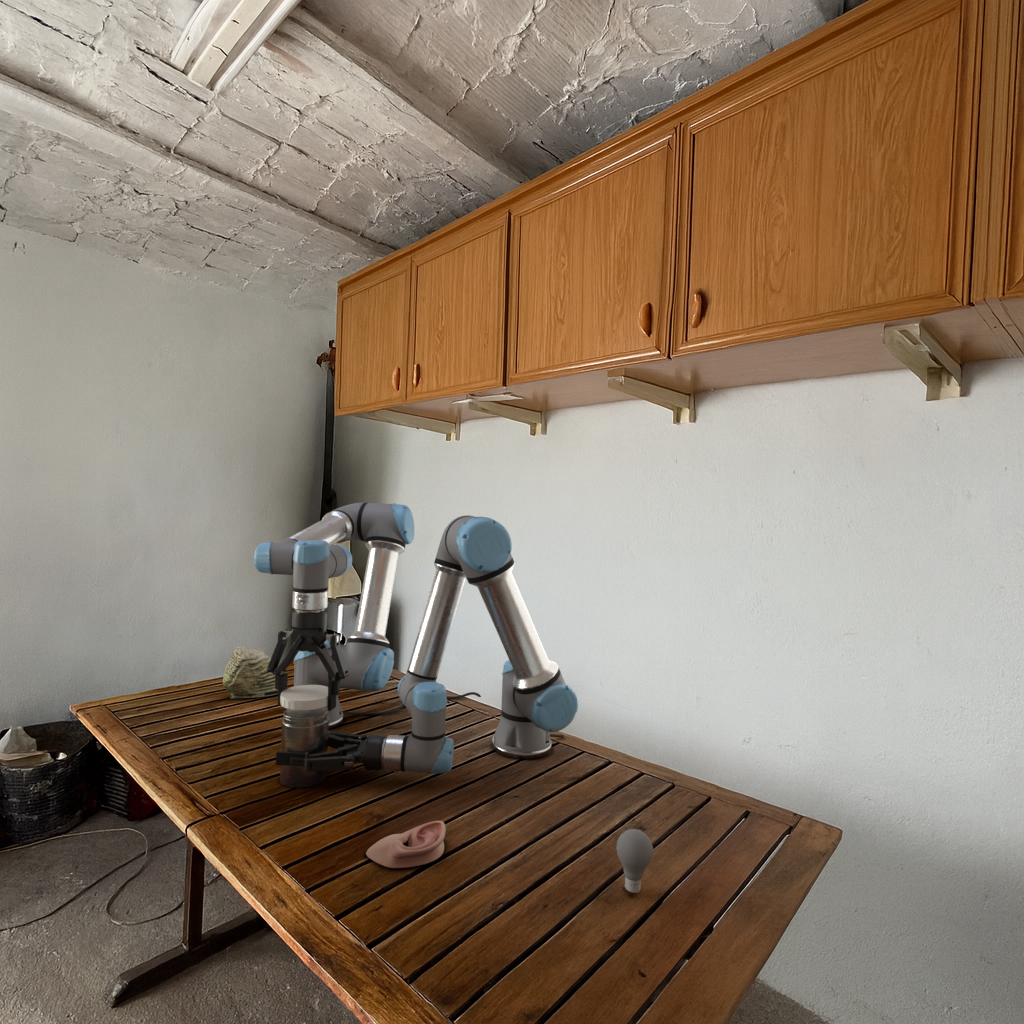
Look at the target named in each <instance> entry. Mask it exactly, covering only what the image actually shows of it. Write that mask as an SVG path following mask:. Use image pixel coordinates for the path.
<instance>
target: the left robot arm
mask: <svg viewBox="0 0 1024 1024" xmlns="http://www.w3.org/2000/svg"><path fill="white" fill-rule="evenodd" d="M414 537H415V520H414V515H413V512H412V510H411V508H410V507H409V506H408V505H406V504H400V503H399V504H398V503H384V502H383V503H381V502H379V503H378V502H362V501H361V502H354V503H350V504H349V503H348V504H346V505H343V506H340V507H337V508H336V509H332V510H331V511H329V512H327V513H325V515H323V517H322V518H321V520H319V521H317V522H316V523H314V524H312V525H310V526H308V527H306V528H304V529H302V530H300V531H298V532H297V533H295V534H292V535H291V536H289V537H287V538H285V539H282V540H281V541H279V542H273V541H270V542H261V543H260V544H259V545H257V547H256V549H255V551H254V553H253V564H254V568H255V569H256V570H257V571H258V572H259V573H262V574H270V575H284V576H292V577H293V578H292V603H291V605H292V606H291V607H292V609H293V611H291V627H292V628H291V630H288V628H285V629H282V630H280V631H278V633H277V642H276V644H275V647H274V650H273V652H272V655H271V657H270V658H271V660H270V662H269V665H268V668H267V672H271V673H273V674H274V675H275V689H277V690H278V694H277V706H281V703H280V696H281V693H282V691H284V690H286V689H288V681H289V679H288V678H289V677H288V676H289V674H288V673H286V672H287V671H286V670H287V669H288V668H289V666H290V665H291V663H292V662H293V661H294V672H293V687H295V686H301V685H322V686H327V687H328V706H325V708H327V710H328V715H327V716H328V717H329V729H328V731H330V730H332V729H335V728H337V727H339V726H340V725H342V723H343V722H344V715H351V716H384V715H390V714H393V713H397V712H398V711H400V710H402V709H404V708H406V706H405V705H404V704H403V703H402V705H400V706H398V707H396V708H395V709H392V710H391V709H390V710H386V711H375V712H373V711H371V712H370V711H343V709H342V706H341V702H340V699H339V694H340V692H341V689H342V690H343V689H345V690H352V691H353V690H354V691H355V690H356V691H362V692H379V691H381V690H382V689H384V687H385V686H386V685H387V684H388V682H389V680H390V678H391V675H392V673H393V670H394V664H395V652H394V650H393V649H391V648H390V641H389V639H387V637H386V633H387V628H388V620H389V614H390V609H391V602H392V597H393V591H394V586H395V585H394V584H395V580H396V579H395V578H396V573H397V567H398V561H399V556H400V555H402V553H405V550H406V545H410V544H412V543H413V540H414V539H415V538H414ZM347 541H354V542H355V541H357V542H365V543H364V546H365V548H366V549H367V550H368V555H367V559H366V566H365V572H364V577H363V582H362V586H361V587H362V589H361V593H360V598H359V604H358V610H357V615H356V621H355V625H354V626H355V627H354V632H352V633H351V634H350V635H349V636H348V637H347V639H346V644H341V635H340V633H338V632H337V633H335V634H332V633H328V631H327V626H328V610H327V608H328V607H329V606H328V597H329V595H328V594H329V593H328V591H329V579H332V578H338V577H341V576H343V575H344V574H346V573H347V572H349V571H350V569H351V567H352V565H353V555H352V553H351V551H350V550H349V549H348V548H347V547H346V546H344V545H341V544H342V543H345V542H347ZM290 639H291V640H292V642H293V644H292V645H291V647H290V648H289V650H288V652H287V653H286V655H285V656H284V658H283V659H282V657H283V655H284V652H285V649H286V647H287V644H288V641H289V640H290ZM281 659H282V660H281ZM472 695H473V696H476V697H478V698H481V697H482V695H481V694H480V693H478V692H475V691H470V692H466V693H464V694H460V695H454V696H447V700H457V699H458V700H459V699H463V698H465V697H468V696H472ZM281 707H282V706H281Z"/></svg>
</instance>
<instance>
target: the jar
mask: <svg viewBox="0 0 1024 1024" xmlns="http://www.w3.org/2000/svg"><path fill="white" fill-rule="evenodd" d="M327 715H328V710H327V708H325V707H322V708H319V709H313V710H291V709H287V708H286V709H285V710H284V711H283V713H282V717H283V719H282V720H281V733H280V734H281V735H280V737H281V738H280V740H281V741H280V751H286V752H307V751H308V752H309V754H316V753H322V752H328V751H329V750H328V749H329V747H328V733H329V730H330V729H329V717H328V716H327ZM328 729H329V730H328ZM327 777H328V770H327V771H313V772H306V771H305V766H288V765H279V782H280V784H281V785H282V786H285V787H288V788H292V789H294V788H295V789H305V788H309V787H314V786H317V785H320V784H321V783H323V782H324V781H325V780H326V779H327Z"/></svg>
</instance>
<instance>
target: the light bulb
mask: <svg viewBox="0 0 1024 1024" xmlns="http://www.w3.org/2000/svg"><path fill="white" fill-rule="evenodd" d="M615 849H616V854H617V857H618V859H619V861H620V863H621V865H622V867H623V873H624V874H623V875H624V876H625V878H624V888H625V890H627V891H628V892H630V893H634V894H635V893H639V892H640V891H641V889H642V887H641V886H642V879H643V877H644V875H645V871H646V868H647V867H648V866H649V864H650V863H651V861H652V859H653V855H654V847H653V843H652V841H651V838H649V836H648V835H647V834H646V833H645V832H643V831H642V830H641V829H636V828H629V829H627V830H625V831H623V832H622V833H621V834H620V835H619V837H618V839H617V841H616V847H615Z"/></svg>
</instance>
